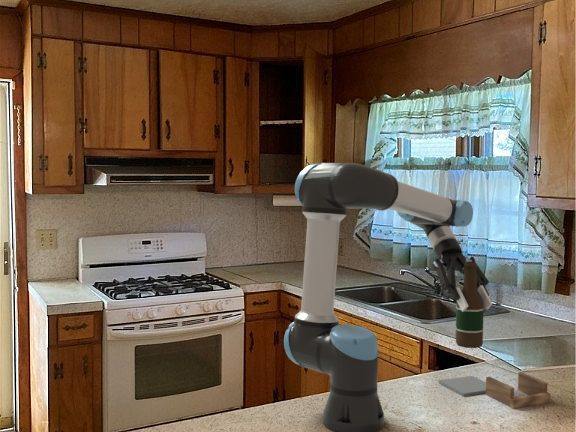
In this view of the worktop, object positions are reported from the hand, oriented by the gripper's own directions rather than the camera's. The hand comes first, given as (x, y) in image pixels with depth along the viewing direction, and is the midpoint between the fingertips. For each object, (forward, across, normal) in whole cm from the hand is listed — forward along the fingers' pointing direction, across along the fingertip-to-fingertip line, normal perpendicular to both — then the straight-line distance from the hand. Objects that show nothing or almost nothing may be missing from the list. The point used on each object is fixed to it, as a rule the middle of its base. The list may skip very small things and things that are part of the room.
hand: (477, 307), depth 178 cm
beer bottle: (+6, 0, -11) cm, 12 cm away
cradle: (+23, -7, -11) cm, 26 cm away
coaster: (+15, 0, -19) cm, 24 cm away
